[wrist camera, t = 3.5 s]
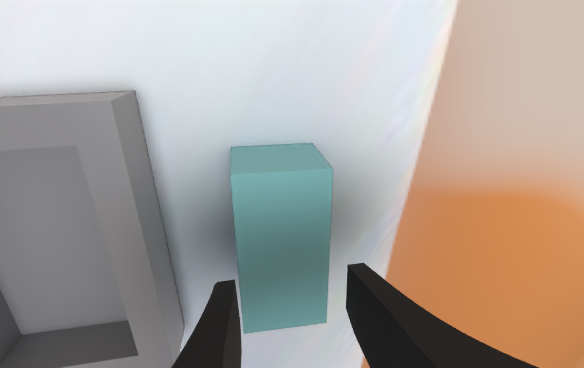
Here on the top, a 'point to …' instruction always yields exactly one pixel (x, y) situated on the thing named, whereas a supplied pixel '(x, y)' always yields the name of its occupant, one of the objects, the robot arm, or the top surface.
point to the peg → (281, 234)
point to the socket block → (82, 238)
